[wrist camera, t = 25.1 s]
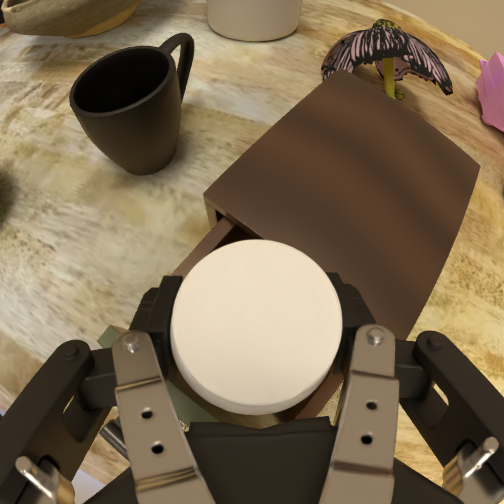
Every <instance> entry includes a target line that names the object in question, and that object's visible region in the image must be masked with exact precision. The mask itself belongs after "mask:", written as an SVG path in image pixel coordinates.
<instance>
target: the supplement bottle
mask: <svg viewBox="0 0 504 504" xmlns="http://www.w3.org/2000/svg"><path fill="white" fill-rule="evenodd" d="M341 334H342V312H341V306H340V302H339V299H338V296H337V293H336V291H335V288H334V286H333V285H332V283H331V281H330V280H329V278H328V276H327V275H326V274H325V272H324V271H323V270H322V269H321V268H320V266H318V265H317V264H316V263H315V262H314V261H313V260H312V259H311V258H309V257H308V256H307V255H305V254H304V253H303V252H301V251H299V250H297V249H295V248H293V247H291V246H288V245H286V244H283V243H279V242H275V241H270V240H257V239H256V240H243V241H238V242H234V243H231V244H228V245H225V246H223V247H221V248H219V249H217V250H215V251H213V252H211V253H210V254H208V255H207V256H206V257H204V258H203V259H202V260H201V261H199V262H198V263H197V264H196V265H195V266H194V267H193V269H192V270H191V271H190V272H189V273H188V275H187V276H186V278H185V279H184V281H183V282H182V284H181V286H180V289H179V291H178V293H177V296H176V299H175V303H174V307H173V314H172V319H171V326H170V340H171V347H172V353H173V356H174V359H175V362H176V364H177V367H178V369H179V371H180V372H181V374H182V376H183V377H184V379H185V380H186V382H187V383H188V384H189V385H190V387H191V388H192V389H193V390H194V391H195V392H196V393H197V394H198V395H200V396H201V397H202V398H204V399H205V400H206V401H208V402H209V403H211V404H213V405H215V406H217V407H220V408H222V409H224V410H227V411H230V412H233V413H238V414H244V415H264V414H270V413H275V412H279V411H282V410H285V409H287V408H290V407H292V406H294V405H295V404H297V403H299V402H300V401H302V400H303V399H305V398H306V397H308V396H309V395H310V394H311V393H312V392H313V391H314V390H315V389H316V388H317V387H318V386H319V385H320V384H321V382H322V381H323V380H324V378H325V377H326V375H327V373H328V372H329V370H330V368H331V365H332V363H333V360H334V358H335V356H336V353H337V350H338V348H339V344H340V339H341Z"/></svg>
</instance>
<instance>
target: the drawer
mask: <svg viewBox="0 0 504 504" xmlns="http://www.w3.org/2000/svg"><path fill="white" fill-rule="evenodd" d="M243 240H256V239H255V238H254V237H252V236H251V235H250V234H248V233H247V232H246V231H244V230H243V229H242V228H240V227H239V226H238V225H236V224H235V223H234V222H232V221H231V220H229V219H228V218H227V217H225V216H224V217H223V218H222V219H221V220H220V221H219V222H218V223H217V225H216V226H215V227H214V228H213V229H212V230H211V231H210V232H209V233H208V234H207V235H206V237H205V238H204V239H203V240H202V241H201V242H200V243H199V244H198V245H197V247H196V248H195V249H194V250H193V251H192V252H191V253H190V254H189V256H188V257H187V258H186V259H185V260H184V261H183V262H182V263H181V265H180V266H179V267H178V268H177V269H176V270H175V271H174V273H173V274H172V275H182V277H183V281H184V279H185V278H186V276H187V275H188V273H189V272H190V271H191V270H192V269H193V267H194V266H195V265H196V264H197V263H198V262H199V261H201V260H202V259H203V258H204V257H206V256H207V255H208V254H210V253H211V252H213V251H215V250H217V249H219V248H221V247H223V246H225V245H228V244H231V243H234V242H238V241H243ZM127 331H128V330H126V329H123V328H120V327H116V326H113V325H109V327H108V328H107V329H106V330H105V332H104V333H103V334H102V335H101V337H100V338H99V339H98V340H97V342H98V343H99V344H100V345H101V346H102V347H103V348H109V347H112V342H113V341H114V339H115V338H116V337H117V336H118V335H120V334H122V333H124V332H127ZM343 380H344V377H343V374H342V375H333V373H332V370H331V368H330V370H329V372H328V373H327V375H326V377H325V378H324V380H323V381H322V382H321V384H320V385H319V386H318V387H317V388H316V389H315V390H314V391H313V392H312V393H311V394H310V395H309V396H308V397H306V398H305V399H303V400H302V401H300V402H299V403H297V404H295V405H294V406H292V407H290V408H287V409H285V410H282V411H279V412H275V413H272V414H273V416H274V418H275V420H276V422H277V423H278V424H281V423H285V422H288V421H292V420H295V419H306V418H315V417H316V416H317V415H318V414H319V412H320V411H321V410H322V409H323V407H324V406H325V405H326V403H327V402H328V401H329V399H330V398H331V397H332V395H333V394H334V393H335V391H336V390H337V389H338V387H339V386H340V385H341V383H342V382H343ZM166 385H167V388H168V391H169V394H170V397H171V400H172V402H173V405H174V408H175V411H176V413H177V416H178V418H179V419H180V420H181V421H183V422H184V423H185V424H186V425H188V426H189V427H190V421H191V422H225V423H230V424H235V425H240V426H246V427H251V428H257V429H262V427H261V426H260V425H258V424H257V423H255V422H254V421H253V420H251V419H250V418H248V417H247V416H246V415H244V414H238V413H233V412H230V411H227V410H224V409H222V408H220V407H217V406H215V405H213V404H211V403H209V402H208V401H206V400H205V399H204V398H202V397H201V396H200V395H198V394H197V393H196V392H195V391H194V390H193V389H192V388H191V387H190V385H189V384H188V383H187V382H186V380H185V379H184V377H183V376H182V374H181V372H180V371H179V369H178V370H177V375H176V380H167V381H166ZM99 434H100V435H101V436H102V437H103V438H104V439H105V440H106V441H107V442H108V443H109V444H110V445H111V446H112V447H114V448H115V449H116V450H117V451H118V452H119V453H120V454H121V455H122V456H124V457H125V458H126V459H127V460H128V461H129V458H128V454H127V450H126V446H125V441H124V437H123V432H122V428H121V423H120V418H119V416H118V417H117V418H116V420H114V419H112V420H110V421H109V422H108V423H107V424H106V425H104V427H103V428H102V429H101V430H100V432H99Z"/></svg>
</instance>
